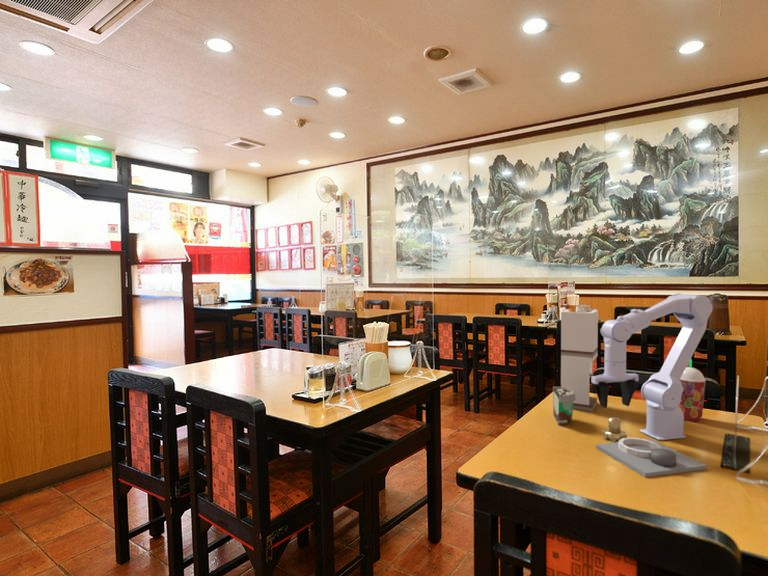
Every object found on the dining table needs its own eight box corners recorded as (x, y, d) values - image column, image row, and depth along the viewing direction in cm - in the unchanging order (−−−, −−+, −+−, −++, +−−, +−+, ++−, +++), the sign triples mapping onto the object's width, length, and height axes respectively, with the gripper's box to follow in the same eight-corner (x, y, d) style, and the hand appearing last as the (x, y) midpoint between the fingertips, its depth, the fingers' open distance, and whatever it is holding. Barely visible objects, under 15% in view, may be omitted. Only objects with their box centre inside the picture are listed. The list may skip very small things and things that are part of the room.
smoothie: (704, 416, 151) (705, 358, 150) (705, 424, 144) (706, 362, 143) (674, 412, 155) (675, 355, 155) (674, 420, 148) (675, 360, 148)
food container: (579, 427, 143) (579, 397, 142) (559, 426, 144) (559, 396, 143) (571, 415, 155) (571, 386, 154) (552, 414, 156) (552, 386, 156)
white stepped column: (592, 411, 158) (593, 313, 157) (560, 406, 164) (561, 311, 163) (597, 402, 168) (597, 310, 166) (567, 398, 174) (567, 309, 172)
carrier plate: (650, 442, 130) (650, 430, 130) (706, 469, 113) (706, 455, 113) (596, 448, 127) (596, 435, 127) (645, 477, 109) (645, 463, 109)
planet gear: (616, 433, 138) (616, 414, 137) (631, 441, 131) (632, 421, 131) (597, 435, 136) (597, 416, 136) (612, 443, 130) (612, 423, 130)
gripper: (626, 356, 138) (626, 400, 139) (584, 359, 135) (584, 403, 136) (644, 361, 131) (643, 407, 132) (600, 364, 128) (600, 411, 129)
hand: (614, 406), depth 133 cm, fingers open, 7 cm apart
